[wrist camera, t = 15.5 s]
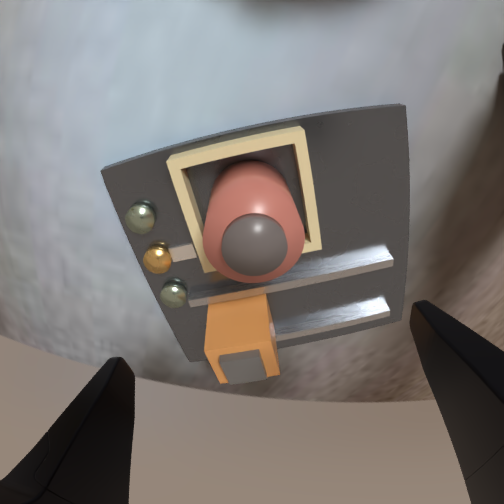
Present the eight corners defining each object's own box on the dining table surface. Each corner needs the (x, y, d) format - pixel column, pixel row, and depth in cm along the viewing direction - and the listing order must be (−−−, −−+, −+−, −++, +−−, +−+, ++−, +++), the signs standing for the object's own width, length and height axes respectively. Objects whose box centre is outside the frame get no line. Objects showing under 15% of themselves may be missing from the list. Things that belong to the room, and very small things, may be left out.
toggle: (265, 291, 22) (271, 348, 18) (274, 326, 24) (280, 381, 20) (208, 302, 22) (203, 358, 18) (222, 335, 24) (220, 390, 20)
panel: (399, 103, 16) (411, 107, 15) (397, 313, 25) (404, 326, 24) (105, 166, 18) (95, 175, 16) (190, 354, 27) (189, 369, 25)
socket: (300, 125, 16) (304, 129, 15) (317, 239, 20) (322, 249, 19) (170, 155, 17) (166, 161, 16) (206, 262, 21) (204, 273, 20)
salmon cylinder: (294, 223, 20) (313, 279, 15) (222, 239, 20) (217, 298, 15) (281, 152, 17) (298, 189, 12) (201, 170, 18) (187, 214, 13)
